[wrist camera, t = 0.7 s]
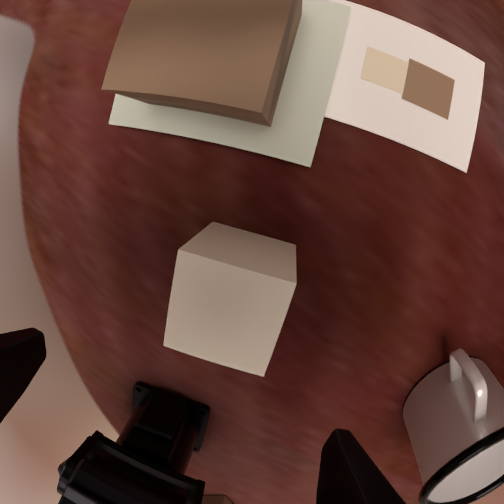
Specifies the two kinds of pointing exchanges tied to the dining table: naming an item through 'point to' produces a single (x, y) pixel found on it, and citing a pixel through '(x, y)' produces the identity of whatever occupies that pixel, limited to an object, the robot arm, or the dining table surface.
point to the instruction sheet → (407, 86)
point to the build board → (288, 106)
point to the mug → (457, 431)
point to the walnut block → (205, 55)
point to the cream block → (230, 297)
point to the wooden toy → (215, 499)
